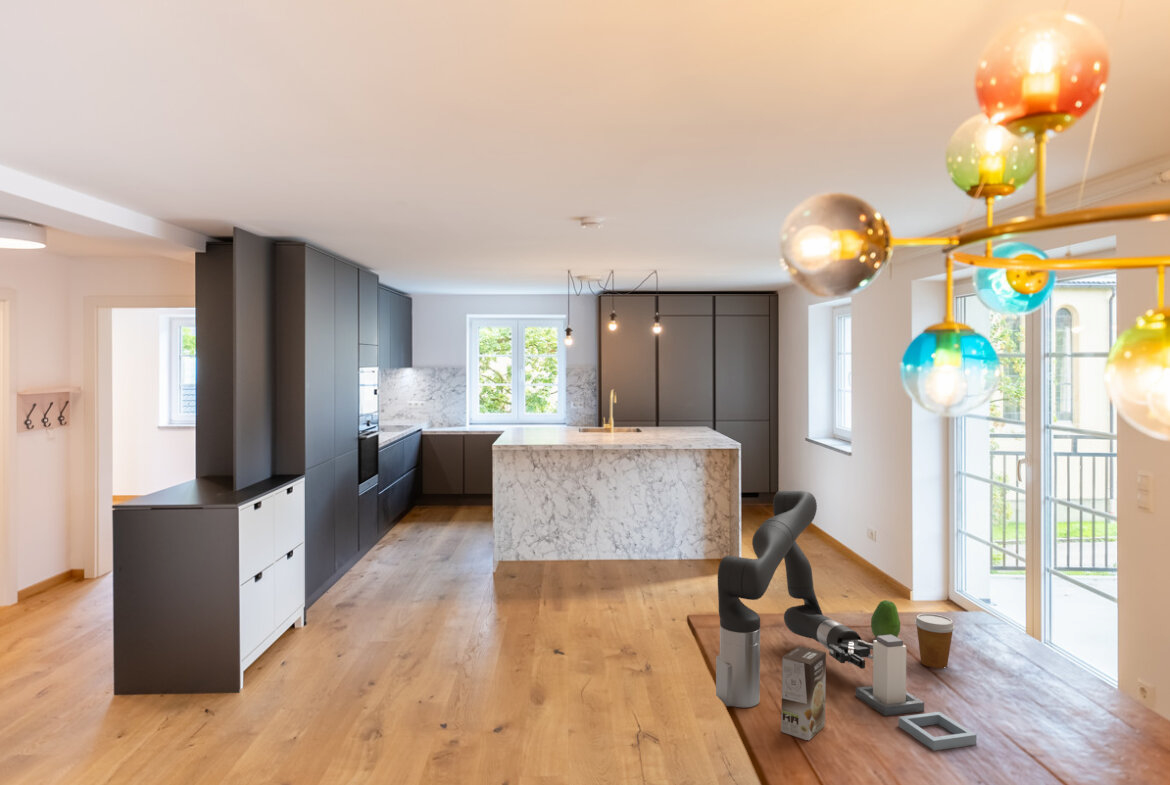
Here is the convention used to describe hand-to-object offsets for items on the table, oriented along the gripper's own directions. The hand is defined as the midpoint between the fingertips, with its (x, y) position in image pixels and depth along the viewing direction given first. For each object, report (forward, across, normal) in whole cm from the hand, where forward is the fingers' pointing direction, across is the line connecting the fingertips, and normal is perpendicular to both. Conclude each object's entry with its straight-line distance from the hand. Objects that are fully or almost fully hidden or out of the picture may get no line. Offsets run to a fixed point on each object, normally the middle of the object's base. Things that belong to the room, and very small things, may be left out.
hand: (879, 663), depth 165 cm
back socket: (+4, 0, +8) cm, 9 cm away
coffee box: (+9, -26, +8) cm, 29 cm away
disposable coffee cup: (-13, +27, +8) cm, 31 cm away
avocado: (-30, +25, +8) cm, 40 cm away
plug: (+4, 0, +8) cm, 9 cm away
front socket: (+18, 0, +8) cm, 20 cm away
